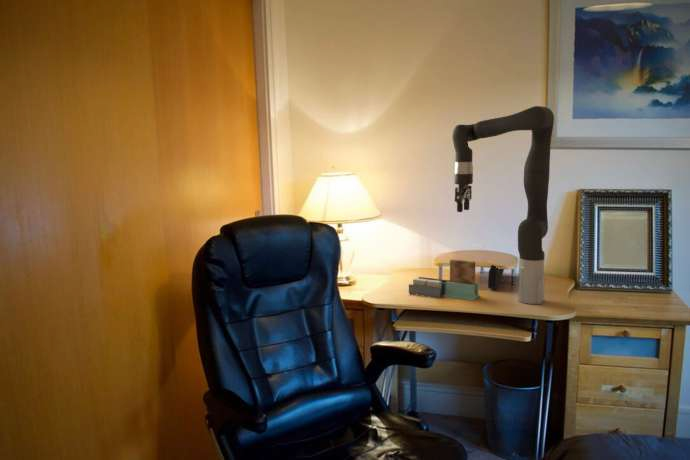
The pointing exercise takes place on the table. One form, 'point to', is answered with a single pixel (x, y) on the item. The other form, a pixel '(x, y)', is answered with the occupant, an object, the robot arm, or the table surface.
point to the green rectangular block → (462, 291)
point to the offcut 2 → (433, 283)
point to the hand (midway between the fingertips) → (463, 210)
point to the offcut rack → (429, 289)
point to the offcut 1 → (419, 281)
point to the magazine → (494, 277)
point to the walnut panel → (462, 271)
